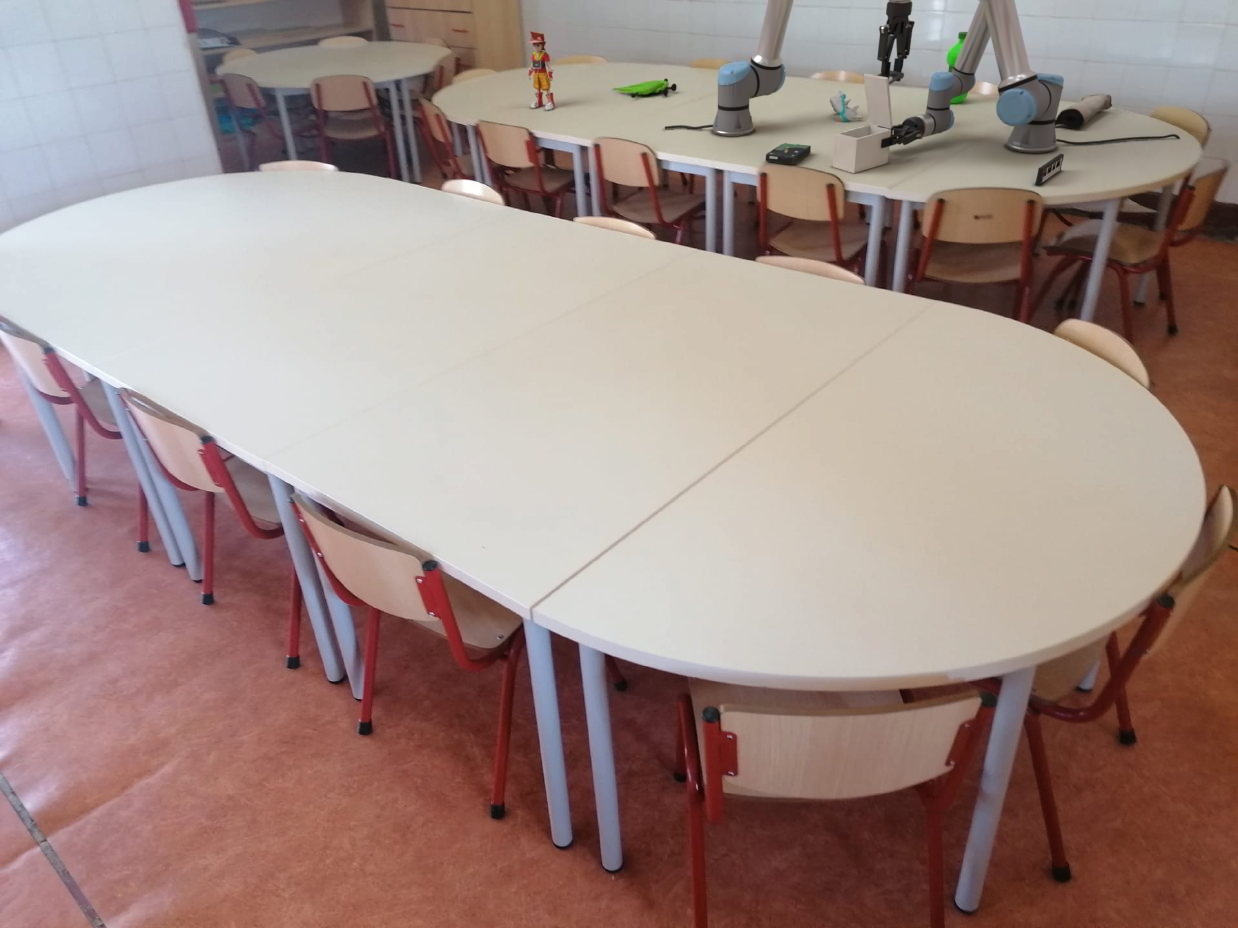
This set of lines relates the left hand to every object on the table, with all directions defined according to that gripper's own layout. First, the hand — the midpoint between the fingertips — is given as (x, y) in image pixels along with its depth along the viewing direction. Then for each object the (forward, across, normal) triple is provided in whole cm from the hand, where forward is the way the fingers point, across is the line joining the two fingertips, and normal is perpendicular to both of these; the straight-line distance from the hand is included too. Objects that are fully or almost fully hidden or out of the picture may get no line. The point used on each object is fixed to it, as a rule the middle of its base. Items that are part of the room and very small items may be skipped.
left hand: (890, 82), depth 286 cm
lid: (+5, -5, 0) cm, 7 cm away
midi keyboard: (+24, +20, -49) cm, 58 cm away
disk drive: (+24, -22, +22) cm, 39 cm away
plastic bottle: (+24, +76, +31) cm, 85 cm away
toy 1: (+25, -45, +148) cm, 157 cm away
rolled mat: (+24, +86, -18) cm, 91 cm away
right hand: (+17, -7, 0) cm, 18 cm away
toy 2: (+25, +1, +139) cm, 142 cm away
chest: (+24, -10, 0) cm, 26 cm away
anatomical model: (+24, +30, +46) cm, 60 cm away
